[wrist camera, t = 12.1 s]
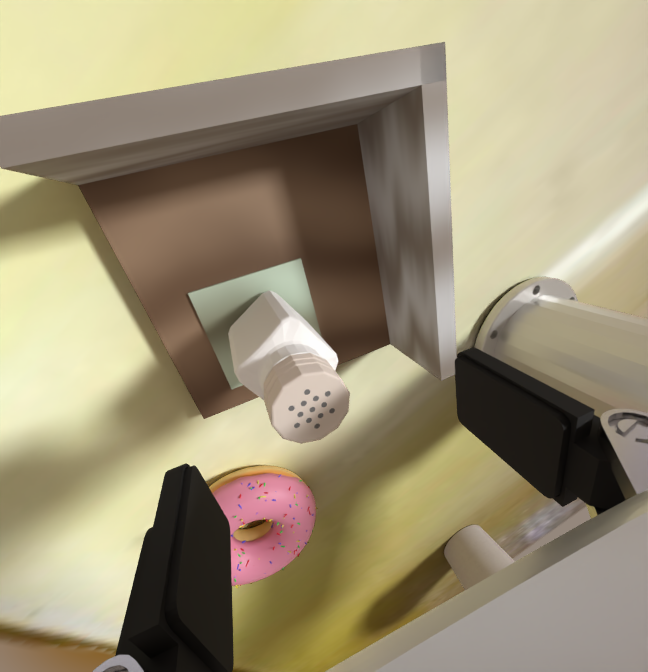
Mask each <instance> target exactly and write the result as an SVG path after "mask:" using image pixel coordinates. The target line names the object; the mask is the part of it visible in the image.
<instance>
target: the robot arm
mask: <svg viewBox="0 0 648 672" xmlns="http://www.w3.org/2000/svg"><path fill="white" fill-rule="evenodd" d="M455 380H456V398H457V415H458V419H459V421H460V422H461V423H462V425H463V426H465V427H466V428H467V429H468V430H469V431H470V432H472V433H473V434H474V435H475V436H476V437H477V438H478V439H480V440H481V441H482V442H483V443H484V444H485V445H486V446H488V447H489V448H490V449H491V450H492V451H493V452H495V453H496V454H497V455H498V456H499V457H500V458H501V459H503V460H504V461H505V462H506V463H507V464H508V465H509V466H511V467H512V468H513V469H514V470H515V471H516V472H518V473H519V474H520V475H521V476H522V477H523V478H524V479H526V480H527V481H528V482H529V483H530V484H531V485H532V486H534V487H535V488H536V489H537V490H538V491H539V492H541V493H542V494H543V495H544V496H546V497H547V498H553V499H554V500H555V501H556V502H558V503H559V504H560V505H561V506H562V507H563V506H565V505H567V504H569V503H571V502H572V501H574V500H576V499H577V497H579V498H580V499H581V500H582V501H584V502H585V503H586V505H587V507H588V511H589V514H590V517H591V519H590V520H588V521H586V522H584V523H583V524H581V525H579V526H577V527H576V528H574V529H572V530H570V531H569V532H567V533H565V534H563V535H562V536H560V537H558V538H556V539H554V540H553V541H551V542H549V543H547V544H546V545H544V546H542V547H540V548H539V549H537V550H535V551H533V552H532V553H530V554H528V555H526V556H525V557H523V558H521V559H519V560H517V561H516V562H514V563H512V564H510V565H509V566H507V567H505V568H503V569H502V570H500V571H498V572H497V573H495V574H493V575H491V576H490V577H488V578H486V579H484V580H483V581H481V582H479V583H477V584H476V585H474V586H472V587H470V588H469V589H467V590H465V591H463V592H462V593H460V594H458V595H456V596H455V597H453V598H451V599H450V600H448V601H446V602H444V603H443V604H441V605H439V606H437V607H436V608H434V609H432V610H430V611H429V612H427V613H425V614H423V615H422V616H420V617H418V618H417V619H415V620H413V621H411V622H410V623H408V624H406V625H404V626H403V627H401V628H399V629H398V630H396V631H394V632H392V633H391V634H389V635H387V636H386V637H384V638H382V639H380V640H379V641H377V642H375V643H374V644H372V645H370V646H368V647H367V648H365V649H363V650H362V651H360V652H358V653H356V654H355V655H353V656H351V657H350V658H348V659H346V660H344V661H343V662H341V663H339V664H338V665H336V666H334V667H332V668H331V669H329V670H327V671H325V672H648V318H645V317H641V316H636V315H632V314H628V313H624V312H620V311H615V310H611V309H607V308H603V307H599V306H594V305H590V304H586V303H582V302H578V300H577V297H576V294H575V292H574V290H573V289H572V287H571V286H570V285H569V284H567V283H566V282H565V281H562V280H560V279H556V278H550V277H536V278H532V279H529V280H527V281H524V282H523V283H521V284H519V285H517V286H515V287H514V288H513V289H512V290H510V291H509V292H508V293H507V294H505V295H504V296H503V297H502V298H501V299H500V300H499V302H498V303H497V304H496V305H495V306H494V307H493V309H492V310H491V312H490V313H489V314H488V316H487V318H486V319H485V321H484V323H483V325H482V327H481V329H480V331H479V334H478V336H477V339H476V343H475V348H470V349H468V350H465V351H463V352H460V353H459V354H458V355H457V358H456V359H455ZM232 670H233V620H232V577H231V535H230V525H229V521H228V519H227V517H226V515H225V514H224V512H223V510H222V509H221V507H220V505H219V504H218V502H217V500H216V499H215V497H214V495H213V494H212V492H211V490H210V489H209V487H208V485H207V484H206V482H205V480H204V479H203V477H202V475H201V474H200V472H199V470H198V469H197V467H196V466H191V467H190V466H189V465H188V464H183V465H181V466H178V467H176V468H173V469H171V470H169V471H167V472H166V473H165V476H164V481H163V485H162V490H161V494H160V499H159V503H158V507H157V512H156V516H155V521H154V525H153V527H152V528H150V529H149V530H148V531H147V532H146V535H145V537H144V541H143V545H142V549H141V553H140V557H139V561H138V565H137V570H136V574H135V578H134V582H133V586H132V590H131V594H130V598H129V602H128V606H127V610H126V614H125V619H124V623H123V627H122V631H121V635H120V639H119V643H118V647H117V651H116V655H115V657H113V658H110V659H108V660H106V661H105V662H104V663H102V664H101V665H100V666H98V667H97V668H96V669H95V670H94V671H93V672H232Z"/></svg>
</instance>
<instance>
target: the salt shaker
mask: <svg viewBox="0 0 648 672" xmlns="http://www.w3.org/2000/svg"><path fill="white" fill-rule="evenodd" d="M228 336H229V342H230V348H231V354H232V360H233V367H234V373H235V374H236V376H237V378H238V380H239V382H240V383H242V384H243V385H244V386H245V387H247V388H248V389H249V390H250V391H252V392H253V393H254V394H256V395H257V396H259V397H260V398H262V399H263V400H264V402H265V405H266V408H267V412H268V415H269V419H270V422H271V425H272V426H273V427H274V429H275V430H276V431H277V432H278V433H279V435H280V436H281V437H282V438H283V439H286V440H290V441H294V442H297V443H301V444H302V443H306V442H311V441H316V440H320V439H322V438H324V437H325V436H327V435H328V434H329V433H331V432H332V431H334V430H335V429H337V428H338V427H339V425H340V424H341V422H342V420H343V419H344V417H345V416H346V414H347V413H348V408H349V396H350V393H349V391H348V389H347V387H346V386H345V384H344V382H343V381H342V379H341V378H340V376H339V375H338V374H337V373H336V371H335V370H336V367H337V364H338V358H337V354H336V353H335V352H334V351H333V349H332V348H331V347H330V346H329V345H328V344H327V343H326V342H325V341H324V340H323V338H322V337H321V336H320V335H319V334H318V333H317V332H316V331H315V330H314V329H313V327H312V326H311V325H310V324H309V323H308V322H307V321H306V320H305V319H304V318H303V317H302V316H301V315H300V314H299V313H297V312H296V311H295V310H294V309H293V308H292V307H291V306H290V305H289V304H288V303H287V302H286V301H285V300H283V299H282V298H281V297H280V296H279V295H278V294H277V293H275V292H273V291H270V290H269V291H266V292H264V293H262V294H261V295H260V296H259V297H258V298H257V300H256V301H255V302H254V303H253V304H252V305H251V306H250V307H249V308H248V309H247V310H246V311H245V312H244V313H243V314H242V315H241V316H240V317H239V318H238V320H237V321H236V322H235V323H234V324H233V325H232V326H231V327H230V330H229V333H228Z"/></svg>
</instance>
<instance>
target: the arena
mask: <svg viewBox="0 0 648 672" xmlns="http://www.w3.org/2000/svg"><path fill="white" fill-rule="evenodd" d="M0 167H1V168H2V169H6V170H11V171H15V172H20V173H25V174H29V175H34V176H38V177H43V178H48V179H52V180H57V181H61V182H66V183H71V184H75V185H78V186H79V188H80V190H81V192H82V193H83V195H84V197H85V199H86V201H87V203H88V205H89V206H90V208H91V210H92V212H93V214H94V216H95V218H96V219H97V221H98V223H99V225H100V227H101V229H102V231H103V232H104V234H105V236H106V238H107V240H108V242H109V244H110V245H111V247H112V249H113V251H114V253H115V255H116V257H117V258H118V260H119V262H120V264H121V266H122V268H123V270H124V271H125V273H126V275H127V277H128V279H129V281H130V283H131V284H132V286H133V288H134V290H135V292H136V294H137V296H138V297H139V299H140V301H141V303H142V305H143V307H144V309H145V310H146V312H147V314H148V316H149V318H150V320H151V322H152V323H153V325H154V327H155V329H156V331H157V333H158V335H159V337H160V338H161V340H162V342H163V344H164V346H165V348H166V350H167V351H168V353H169V355H170V357H171V359H172V361H173V363H174V364H175V366H176V368H177V370H178V372H179V374H180V376H181V377H182V379H183V381H184V383H185V385H186V387H187V389H188V390H189V392H190V394H191V396H192V398H193V400H194V402H195V403H196V405H197V407H198V409H199V411H200V413H201V415H202V416H203V418H204V419H205V418H208V417H210V416H213V415H215V414H218V413H220V412H223V411H225V410H228V409H230V408H233V407H235V406H238V405H240V404H243V403H245V402H248V401H250V400H253V399H255V398H257V397H259V396H257V395H256V394H254V393H253V392H252V391H250V390H249V389H248V388H247V387H245V386H244V385H243V384H242V383H240V382H239V380H238V378H237V376H236V374H235V373H234V367H233V360H232V354H231V348H230V342H229V336H228V333H229V330H230V327H231V326H232V325H233V324H234V323H235V322H236V321H237V320H238V318H239V317H240V316H241V315H242V314H243V313H244V312H245V311H246V310H247V309H248V308H249V307H250V306H251V305H252V304H253V303H254V302H255V301H256V300H257V298H258V297H259V296H260V295H261V294H262V293H264V292H266V291H269V290H270V291H273V292H275V293H277V294H278V295H279V296H280V297H281V298H282V299H283V300H285V301H286V302H287V303H288V304H289V305H290V306H291V307H292V308H293V309H294V310H295V311H296V312H297V313H299V314H300V315H301V316H302V317H303V318H304V319H305V320H306V321H307V322H308V323H309V324H310V325H311V326H312V327H313V329H314V330H315V331H316V332H317V333H318V334H319V335H320V336H321V337H322V338H323V340H324V341H325V342H326V343H327V344H328V345H329V346H330V347H331V348H332V349H333V351H334V352H335V353H336V354H337V358H338V364H337V365H339V364H342V363H344V362H347V361H349V360H352V359H354V358H357V357H359V356H362V355H364V354H367V353H369V352H372V351H374V350H377V349H379V348H382V347H384V346H387V345H389V344H391V345H392V346H394V347H395V348H397V349H398V350H399V351H401V352H402V353H403V354H405V355H406V356H408V357H409V358H410V359H412V360H413V361H415V362H416V363H417V364H419V365H420V366H422V367H423V368H424V369H426V370H427V371H429V372H430V373H431V374H433V375H434V376H435V377H437V378H438V379H440V380H441V381H442V380H444V379H446V378H448V377H451V376H453V375H455V359H456V358H457V352H456V325H455V298H454V271H453V244H452V217H451V190H450V162H449V135H448V108H447V81H446V54H445V42H442V43H436V44H430V45H424V46H418V47H412V48H406V49H400V50H394V51H388V52H382V53H376V54H370V55H364V56H358V57H352V58H346V59H340V60H334V61H328V62H322V63H316V64H310V65H304V66H298V67H292V68H286V69H280V70H274V71H268V72H261V73H255V74H249V75H243V76H237V77H231V78H225V79H219V80H213V81H207V82H201V83H195V84H189V85H183V86H177V87H171V88H165V89H159V90H153V91H147V92H141V93H135V94H129V95H123V96H117V97H111V98H105V99H99V100H93V101H87V102H81V103H75V104H69V105H63V106H57V107H51V108H45V109H39V110H33V111H27V112H21V113H15V114H9V115H3V116H0Z"/></svg>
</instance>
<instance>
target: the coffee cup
mask: <svg viewBox="0 0 648 672" xmlns="http://www.w3.org/2000/svg"><path fill="white" fill-rule="evenodd" d="M444 556H445V557H446V559H447V561H448V563H449V564H450V566H451V568H452V569H453V571H454V573H455V574H456V576H457V578H458V579H459V581H460V583H461V584H462V586H463V588H464V590H467V589H469V588H470V587H472V586H474V585H476V584H477V583H479V582H481V581H483V580H484V579H486V578H488V577H490V576H491V575H493V574H495V573H497V572H498V571H500V570H502V569H503V568H505V567H507V566H509V565H510V564H512V563H514V562H515V561H514V560H513V559H512V558H511V557H510V556H509V555H508V554H507V553H506V552H505V551H504V550H503V549H502V548H501V547H500V546H499V545H498V544H497V543H496V542H495V541H494V540H493V539H492V538H491V537H490V536H489V535H488V534H487V533H486V532H485V531H484V530H483V529H482V528H481V527H480V526H478V525H470V526H467V527H465V528H463V529H461V530H460V531H458V532H457V533H456V534H455V535H454V536H453V537H452V538H451V539H450V540H449V542H448V543H447V545H446V547H445V550H444Z"/></svg>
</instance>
